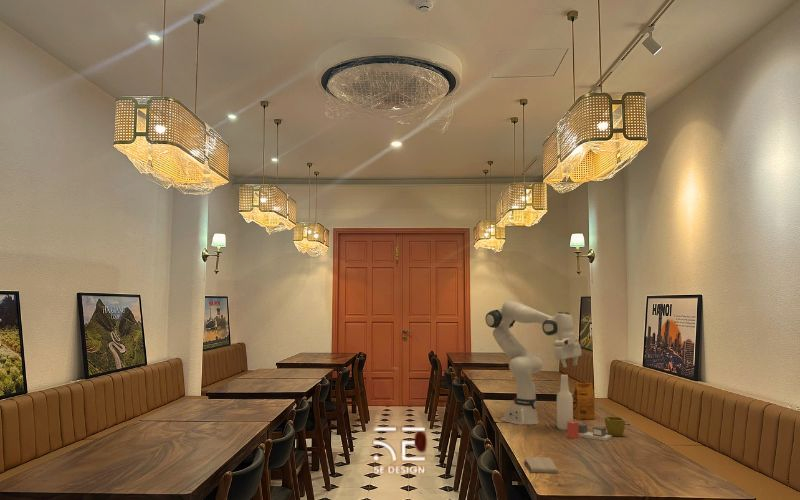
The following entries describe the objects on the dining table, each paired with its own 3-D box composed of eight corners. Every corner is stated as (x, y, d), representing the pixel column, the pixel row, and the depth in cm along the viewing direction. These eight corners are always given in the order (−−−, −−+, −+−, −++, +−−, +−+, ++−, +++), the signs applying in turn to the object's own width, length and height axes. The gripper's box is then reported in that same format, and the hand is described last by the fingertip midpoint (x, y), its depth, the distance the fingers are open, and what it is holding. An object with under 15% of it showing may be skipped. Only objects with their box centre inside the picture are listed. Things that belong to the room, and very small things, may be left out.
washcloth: (549, 462, 250) (549, 455, 250) (559, 474, 232) (559, 467, 233) (523, 462, 251) (523, 454, 251) (530, 474, 233) (530, 466, 233)
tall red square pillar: (572, 438, 293) (572, 423, 294) (567, 437, 296) (567, 421, 297) (578, 438, 294) (578, 422, 295) (573, 436, 298) (572, 421, 299)
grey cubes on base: (569, 434, 301) (568, 424, 302) (574, 432, 308) (574, 422, 308) (606, 441, 289) (606, 430, 289) (611, 438, 295) (611, 427, 295)
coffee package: (571, 416, 351) (570, 381, 353) (590, 416, 351) (590, 381, 353) (576, 420, 341) (575, 383, 343) (596, 420, 341) (595, 383, 343)
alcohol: (571, 427, 321) (570, 374, 324) (574, 430, 312) (573, 376, 315) (555, 426, 322) (555, 373, 324) (558, 430, 313) (557, 375, 316)
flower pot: (621, 433, 306) (620, 416, 307) (626, 437, 297) (625, 420, 298) (604, 433, 307) (604, 416, 308) (608, 436, 298) (608, 419, 299)
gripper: (573, 339, 319) (576, 364, 317) (551, 342, 306) (554, 368, 304) (582, 339, 314) (585, 364, 312) (561, 342, 301) (564, 368, 299)
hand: (570, 366), depth 308 cm, fingers open, 8 cm apart
